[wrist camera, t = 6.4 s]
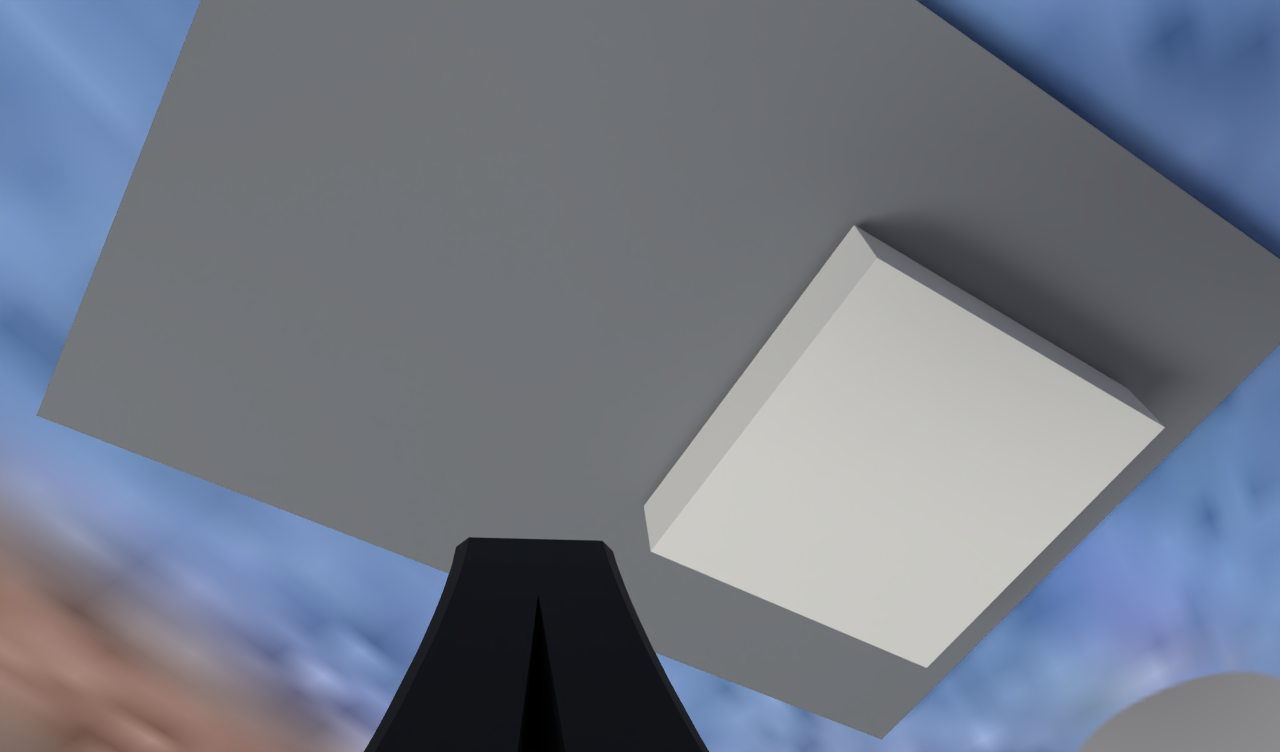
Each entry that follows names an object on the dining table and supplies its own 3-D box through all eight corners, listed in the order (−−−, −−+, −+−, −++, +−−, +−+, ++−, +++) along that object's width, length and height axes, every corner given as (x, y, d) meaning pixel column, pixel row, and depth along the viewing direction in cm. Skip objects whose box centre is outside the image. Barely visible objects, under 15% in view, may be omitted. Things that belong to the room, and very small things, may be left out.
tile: (851, 221, 18) (1123, 384, 20) (642, 501, 21) (904, 616, 23) (877, 257, 17) (1164, 427, 19) (650, 551, 19) (926, 668, 22)
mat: (1312, 283, 20) (1329, 294, 20) (875, 723, 26) (881, 739, 25) (363, -392, 13) (358, -397, 13) (47, 401, 19) (36, 415, 19)
